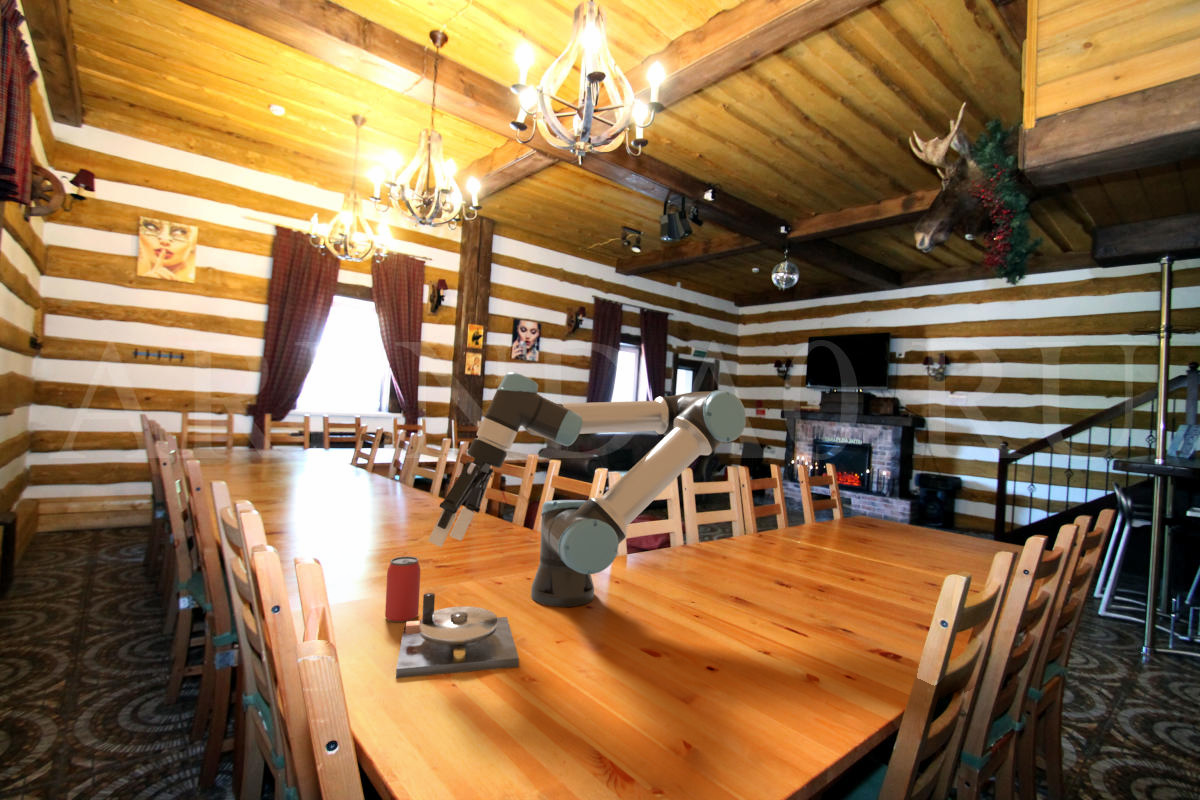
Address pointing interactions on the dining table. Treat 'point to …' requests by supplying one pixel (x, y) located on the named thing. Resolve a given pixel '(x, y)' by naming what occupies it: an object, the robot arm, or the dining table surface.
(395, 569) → the beer can
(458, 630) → the silver disc with handle
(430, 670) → the base plate
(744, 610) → the dining table surface
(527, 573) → the dining table surface
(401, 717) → the dining table surface
